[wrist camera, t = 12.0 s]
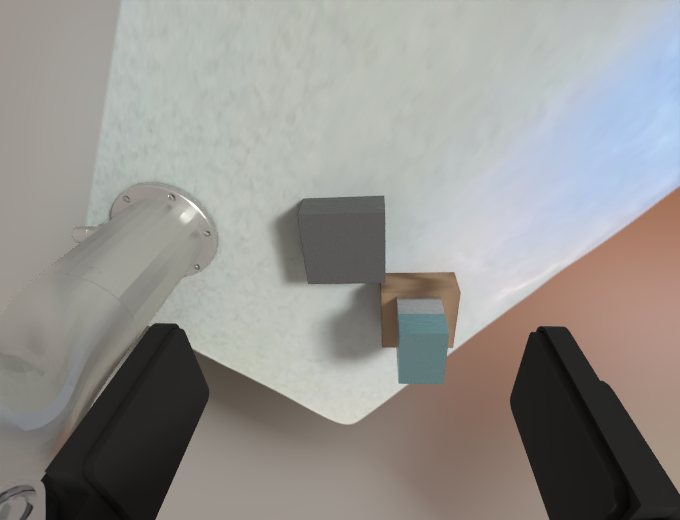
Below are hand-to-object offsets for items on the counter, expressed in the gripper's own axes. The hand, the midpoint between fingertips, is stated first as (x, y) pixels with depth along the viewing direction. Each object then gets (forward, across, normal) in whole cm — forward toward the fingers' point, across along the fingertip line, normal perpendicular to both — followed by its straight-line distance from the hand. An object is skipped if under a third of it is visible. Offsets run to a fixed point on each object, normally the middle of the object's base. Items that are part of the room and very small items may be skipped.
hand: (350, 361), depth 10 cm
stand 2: (+30, -6, +23) cm, 39 cm away
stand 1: (+30, +3, +13) cm, 33 cm away
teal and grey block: (+26, -5, +23) cm, 36 cm away
